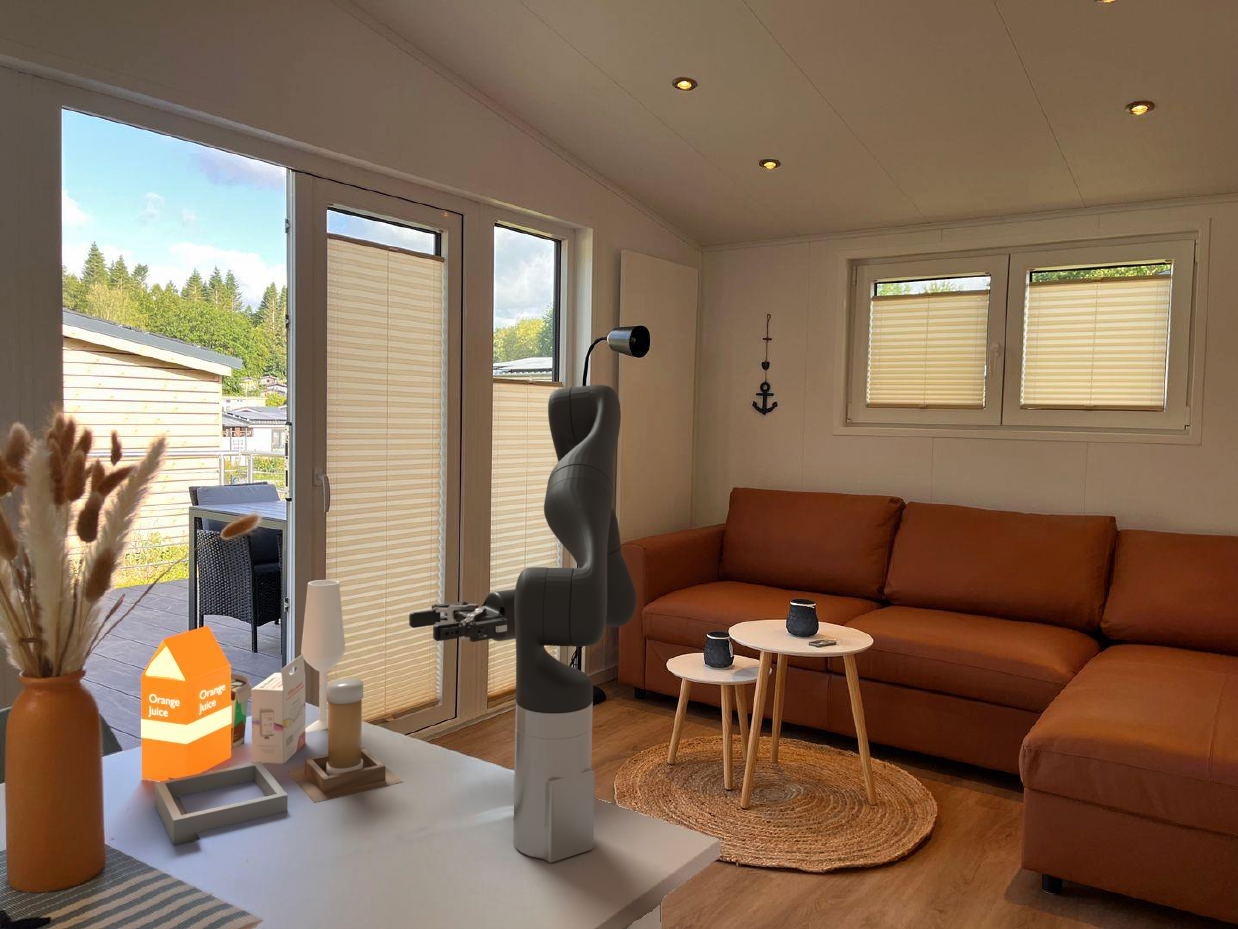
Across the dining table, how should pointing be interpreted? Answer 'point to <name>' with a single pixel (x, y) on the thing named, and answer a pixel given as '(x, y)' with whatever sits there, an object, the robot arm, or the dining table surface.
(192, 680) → the orange juice
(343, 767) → the cartridge fuse
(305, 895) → the dining table surface
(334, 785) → the walnut block
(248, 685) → the food container
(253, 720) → the ink cartridge box
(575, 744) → the robot arm
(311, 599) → the champagne flute
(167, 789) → the grey parts tray
